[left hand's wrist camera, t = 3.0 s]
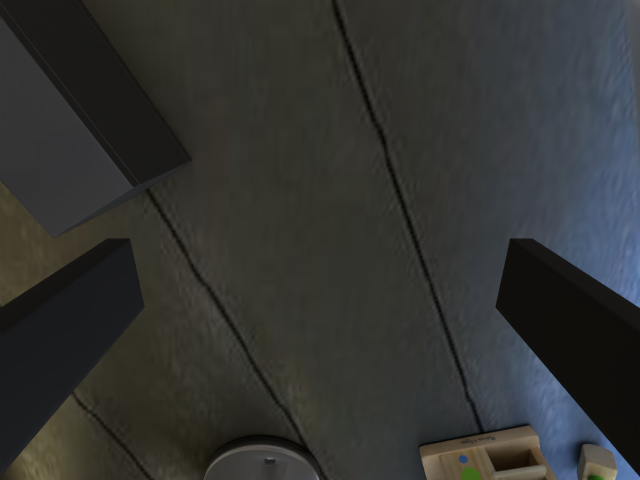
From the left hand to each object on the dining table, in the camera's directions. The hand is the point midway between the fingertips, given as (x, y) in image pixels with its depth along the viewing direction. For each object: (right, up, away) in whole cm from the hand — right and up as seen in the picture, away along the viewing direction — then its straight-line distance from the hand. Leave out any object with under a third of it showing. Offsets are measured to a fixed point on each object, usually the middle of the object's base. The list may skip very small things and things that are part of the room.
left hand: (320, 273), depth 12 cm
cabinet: (-19, +14, +17) cm, 29 cm away
